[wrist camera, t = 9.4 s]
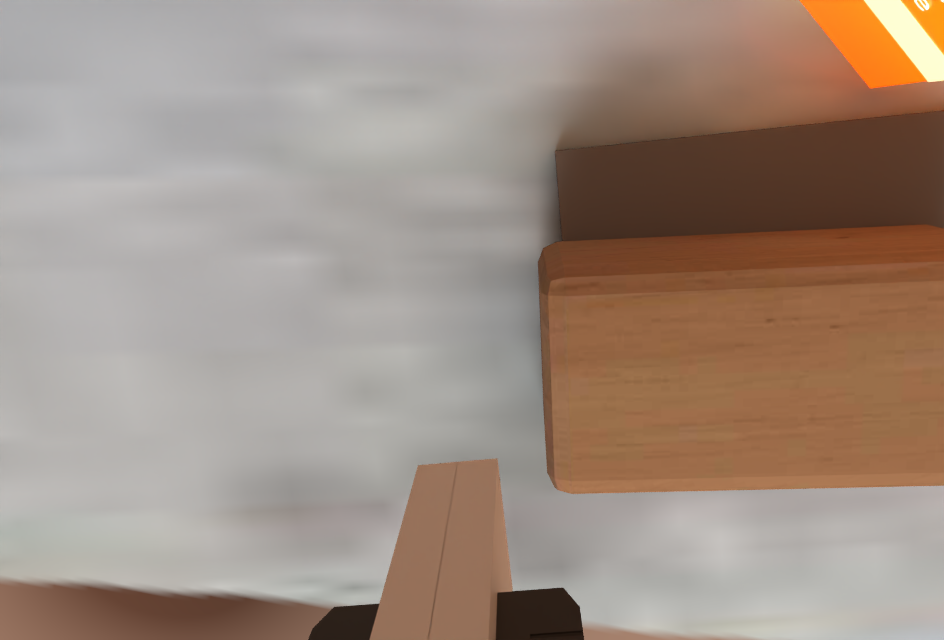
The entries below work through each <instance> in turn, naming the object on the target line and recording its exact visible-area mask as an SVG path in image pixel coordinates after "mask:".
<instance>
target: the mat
mask: <svg viewBox="0 0 944 640" xmlns="http://www.w3.org/2000/svg"><path fill="white" fill-rule="evenodd" d="M555 157H556V169H557V182H558V194H559V207H560V220H561V232H562V241H582V240H604V239H625V238H646V237H668V236H689V235H711V234H732V233H754V232H775V231H797V230H818V229H840V228H861V227H882V226H904V225H925V224H927V225H931V226H935V227H939V228H944V110H943V111H934V112H924V113H914V114H905V115H895V116H885V117H876V118H866V119H857V120H847V121H837V122H828V123H818V124H809V125H799V126H789V127H780V128H770V129H761V130H751V131H741V132H732V133H722V134H712V135H703V136H693V137H684V138H674V139H664V140H655V141H645V142H636V143H626V144H616V145H607V146H597V147H587V148H578V149H568V150H559V151H555Z"/></svg>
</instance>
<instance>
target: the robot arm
mask: <svg viewBox="0 0 944 640" xmlns="http://www.w3.org/2000/svg"><path fill="white" fill-rule="evenodd" d="M308 640H584V636H583V628H582V621H581V613H580V607H579V606H578V604H577V603H576V602H575V601H574V600H573V599H572V597H571V596H570V595H569V594H568V593H567V592H566V590H565V589H564V588H552V589H538V590H525V591H512V580H511V571H510V563H509V554H508V546H507V537H506V528H505V520H504V511H503V503H502V494H501V486H500V477H499V468H498V460H497V459H485V460H474V461H462V462H451V463H439V464H428V465H418V467H417V471H416V475H415V478H414V482H413V485H412V489H411V493H410V496H409V500H408V503H407V507H406V510H405V514H404V518H403V521H402V525H401V528H400V532H399V536H398V539H397V543H396V546H395V550H394V554H393V557H392V561H391V564H390V568H389V572H388V575H387V579H386V582H385V586H384V589H383V593H382V597H381V600H380V604H369V605H356V606H343V607H334V608H333V609H332V610H331V611H330V612H329V613H328V614H327V615H326V616H325V617H324V618H323V619H322V620H321V621H320V622H319V623H318V624H317V625H316V626H315V627H314V628H313V629H312V632H311V634H310V636H309V639H308Z"/></svg>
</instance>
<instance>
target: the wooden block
mask: <svg viewBox="0 0 944 640" xmlns="http://www.w3.org/2000/svg"><path fill="white" fill-rule="evenodd" d="M538 273H539V299H540V326H541V352H542V378H543V405H544V424H545V441H546V459H547V473H548V475H549V477H550V479H551V481H552V483H553V485H554V487H555V488H556V489H557V490H560V491H564V492H567V493H571V494H581V493H626V492H671V491H716V490H761V489H806V488H851V487H896V486H941V485H944V228H939V227H935V226H931V225H927V224H925V225H904V226H882V227H861V228H840V229H818V230H797V231H775V232H754V233H732V234H711V235H689V236H668V237H646V238H625V239H604V240H582V241H561V242H555V243H553V244H551V245H549V246H547V247H545V248H543V250H542V253H541V256H540V258H539V261H538Z"/></svg>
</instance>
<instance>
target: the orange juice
mask: <svg viewBox="0 0 944 640" xmlns="http://www.w3.org/2000/svg"><path fill="white" fill-rule="evenodd" d="M800 1H801V3H802V4H803V5H804V6H805V8H806V9H807V10H808V11H809V13H810V14H811V15H812V16H813V18H814V19H815V20H816V21H817V23H818V24H819V25H820V26H821V28H822V29H823V30H824V31H825V33H826V34H827V35H828V36H829V38H830V39H831V40H832V41H833V43H834V44H835V45H836V46H837V48H838V49H839V50H840V51H841V52H842V54H843V55H844V56H845V57H846V59H847V60H848V61H849V62H850V64H851V65H852V66H853V67H854V69H855V70H856V71H857V72H858V74H859V75H860V76H861V77H862V79H863V80H864V81H865V82H866V84H867V85H868V86H869V87H870V88H877V87H884V86H892V85H900V84H908V83H916V82H924V81H928V82H934V81H942V80H944V0H800Z"/></svg>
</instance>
